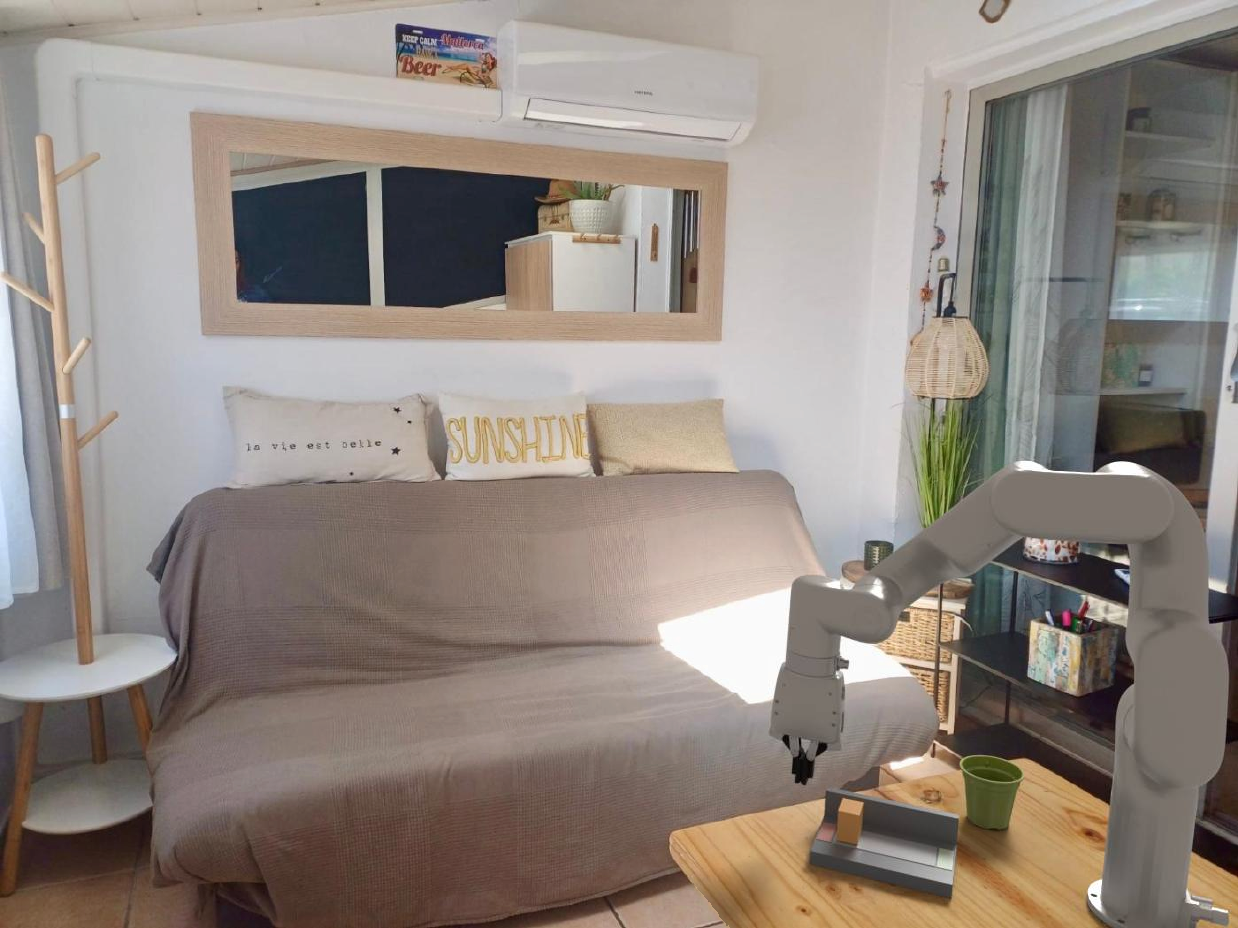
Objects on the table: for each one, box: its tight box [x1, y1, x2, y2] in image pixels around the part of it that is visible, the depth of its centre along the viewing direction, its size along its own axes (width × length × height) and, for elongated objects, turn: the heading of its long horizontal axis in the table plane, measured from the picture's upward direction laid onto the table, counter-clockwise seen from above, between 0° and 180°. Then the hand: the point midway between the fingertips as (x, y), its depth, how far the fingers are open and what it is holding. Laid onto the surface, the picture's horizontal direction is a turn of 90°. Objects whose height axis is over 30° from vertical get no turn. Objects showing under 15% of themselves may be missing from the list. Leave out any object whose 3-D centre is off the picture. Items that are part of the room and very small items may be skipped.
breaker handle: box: [836, 798, 864, 845], centre depth 133 cm, size 3×4×4 cm
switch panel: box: [809, 786, 960, 899], centre depth 132 cm, size 19×12×6 cm, turn 67°
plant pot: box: [959, 754, 1025, 831], centre depth 143 cm, size 9×9×9 cm
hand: (802, 779), depth 135 cm, fingers closed
